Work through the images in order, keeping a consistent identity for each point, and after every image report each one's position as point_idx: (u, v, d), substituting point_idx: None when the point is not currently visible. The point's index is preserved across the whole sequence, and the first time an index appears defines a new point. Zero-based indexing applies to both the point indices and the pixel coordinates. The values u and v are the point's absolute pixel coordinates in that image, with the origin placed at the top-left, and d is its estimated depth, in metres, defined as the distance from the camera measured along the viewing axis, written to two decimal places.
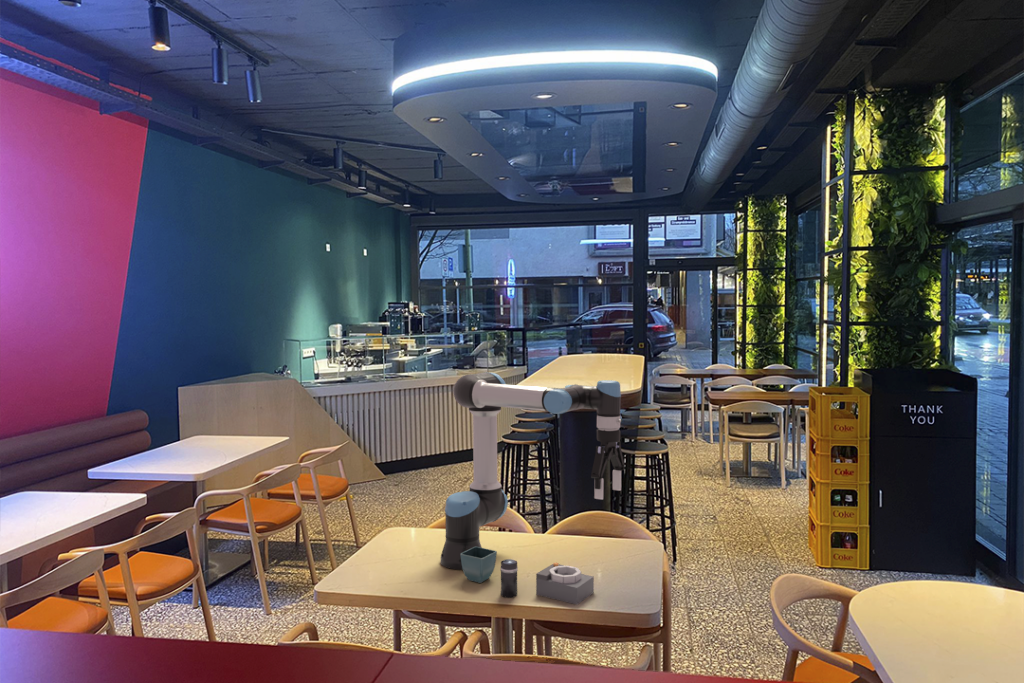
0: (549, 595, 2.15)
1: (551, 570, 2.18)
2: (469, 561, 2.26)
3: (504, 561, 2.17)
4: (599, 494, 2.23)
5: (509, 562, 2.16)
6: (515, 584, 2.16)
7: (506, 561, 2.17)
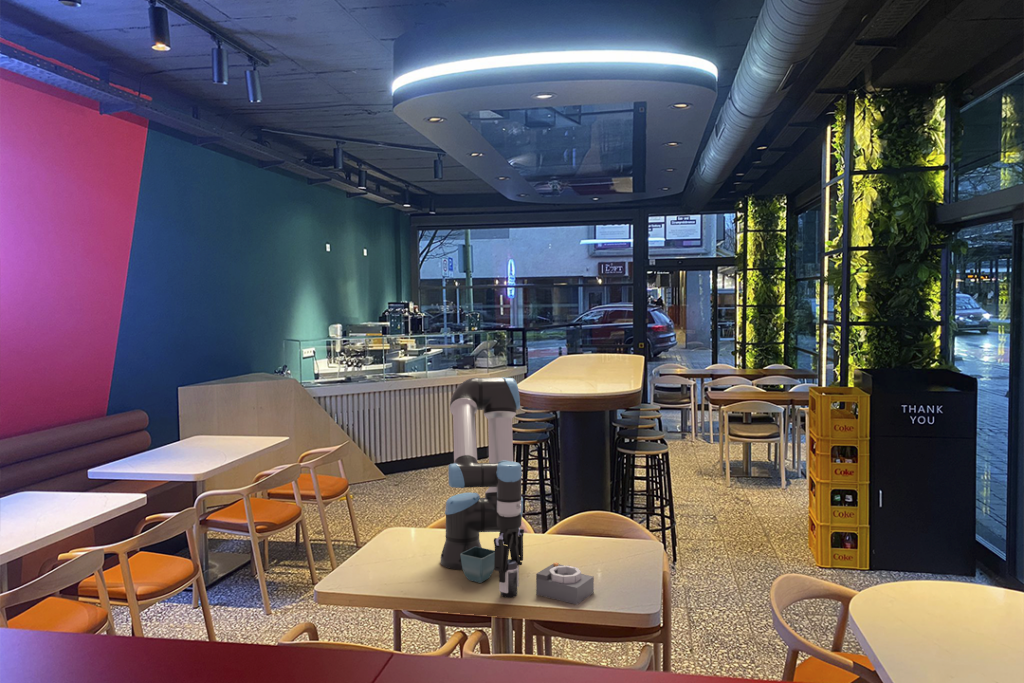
0: (549, 595, 2.15)
1: (551, 570, 2.18)
2: (469, 561, 2.26)
3: None
4: (504, 587, 2.14)
5: (509, 562, 2.16)
6: (515, 584, 2.16)
7: None
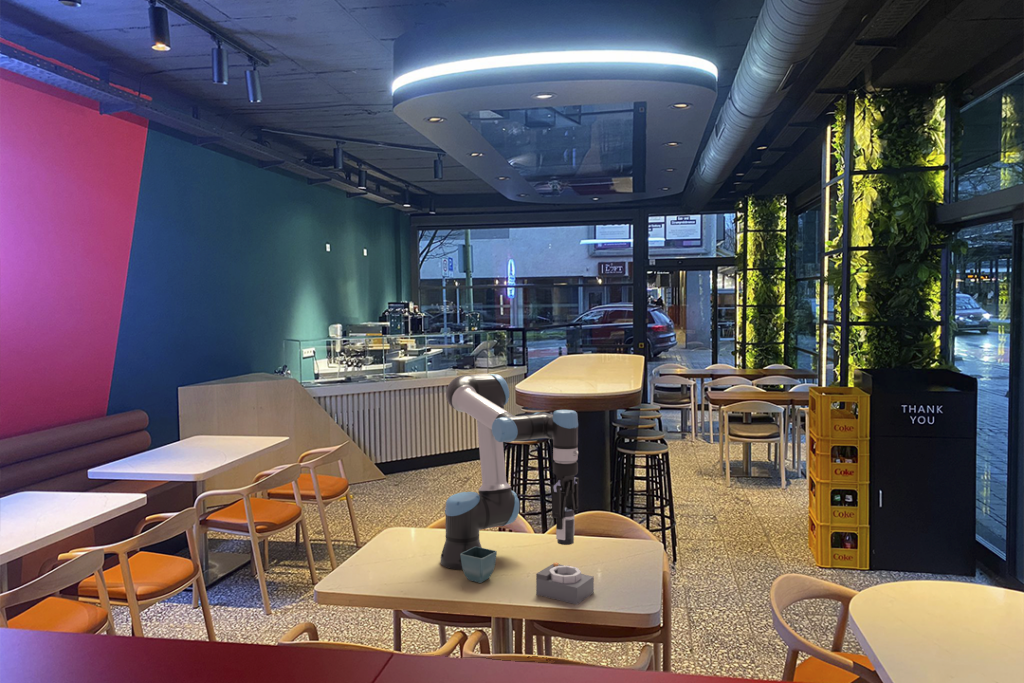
0: (549, 595, 2.15)
1: (551, 570, 2.18)
2: (469, 561, 2.26)
3: None
4: (561, 535, 2.14)
5: (566, 509, 2.16)
6: (572, 531, 2.16)
7: None
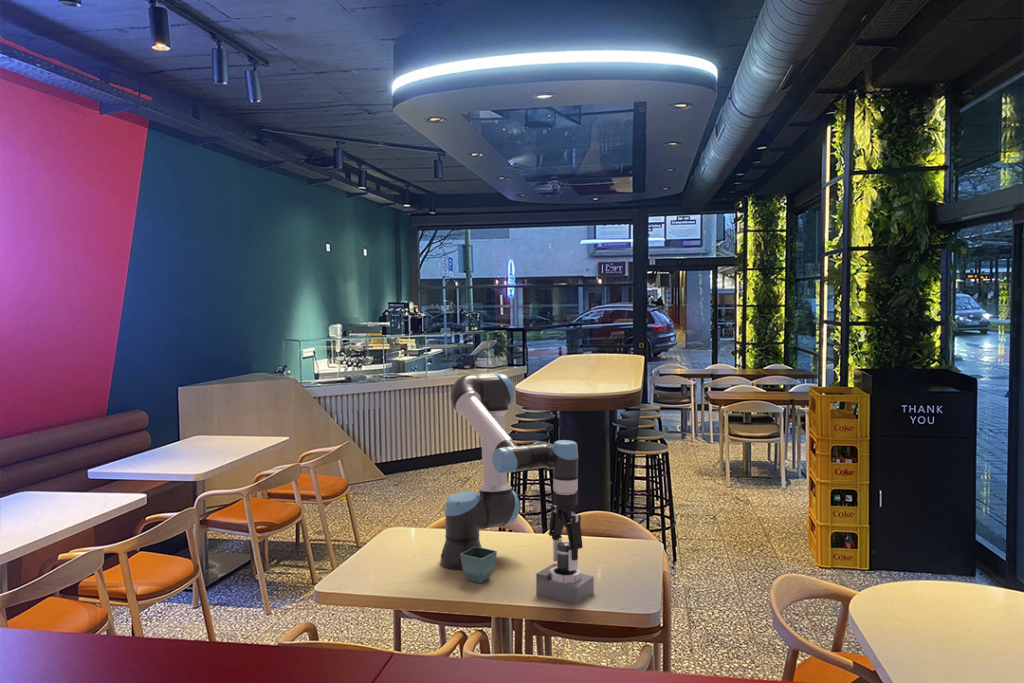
0: (549, 595, 2.15)
1: (551, 570, 2.18)
2: (469, 561, 2.26)
3: (563, 545, 2.17)
4: (575, 565, 2.14)
5: (568, 544, 2.17)
6: None
7: (564, 544, 2.17)
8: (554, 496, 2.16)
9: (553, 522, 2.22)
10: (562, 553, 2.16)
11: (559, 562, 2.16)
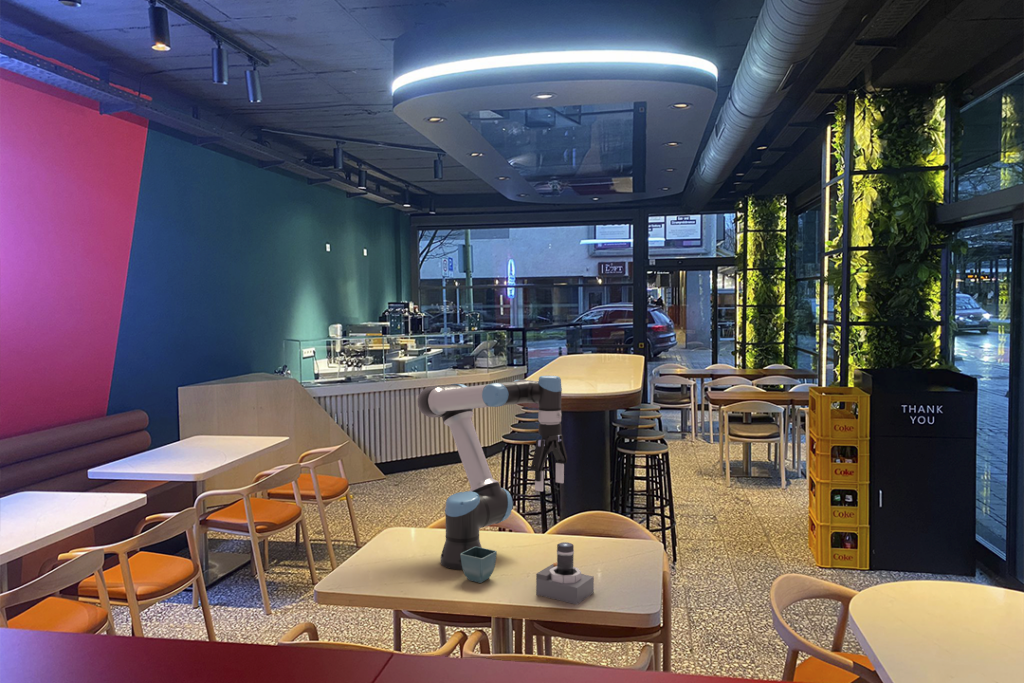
0: (549, 595, 2.15)
1: (551, 570, 2.18)
2: (469, 561, 2.26)
3: (563, 545, 2.16)
4: (539, 486, 2.29)
5: (568, 544, 2.17)
6: None
7: (564, 545, 2.17)
8: None
9: None
10: (562, 554, 2.15)
11: (559, 563, 2.16)
